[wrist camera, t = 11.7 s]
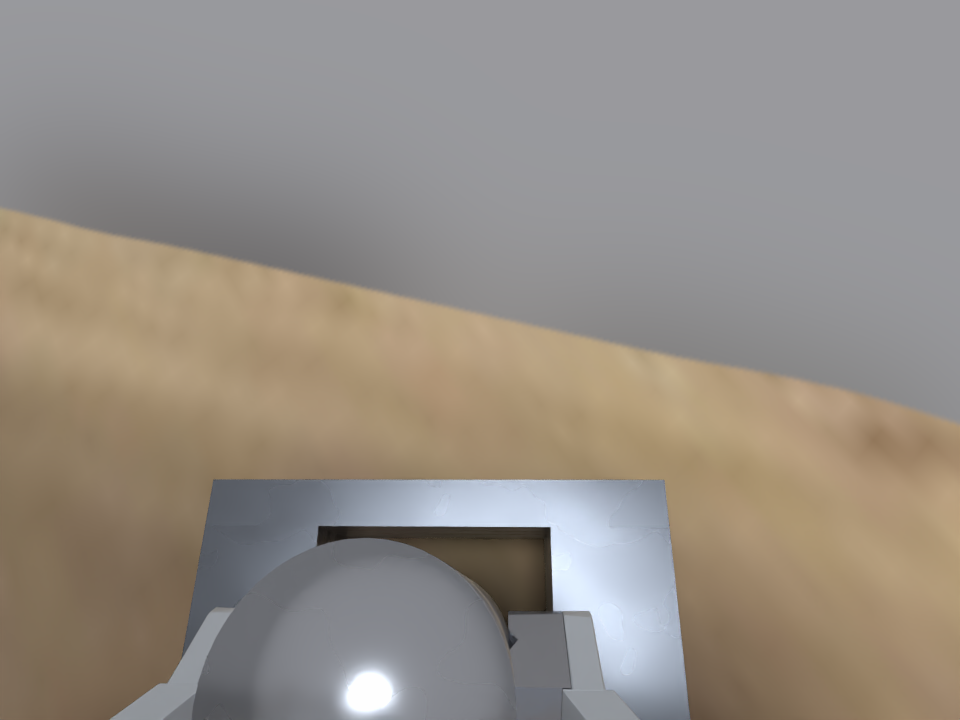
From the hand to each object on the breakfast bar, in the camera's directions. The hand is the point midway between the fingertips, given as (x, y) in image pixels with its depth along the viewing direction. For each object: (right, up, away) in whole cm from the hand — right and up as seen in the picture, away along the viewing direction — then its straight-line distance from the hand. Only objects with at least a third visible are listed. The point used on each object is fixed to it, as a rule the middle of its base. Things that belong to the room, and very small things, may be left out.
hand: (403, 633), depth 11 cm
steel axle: (0, -3, +5) cm, 5 cm away
